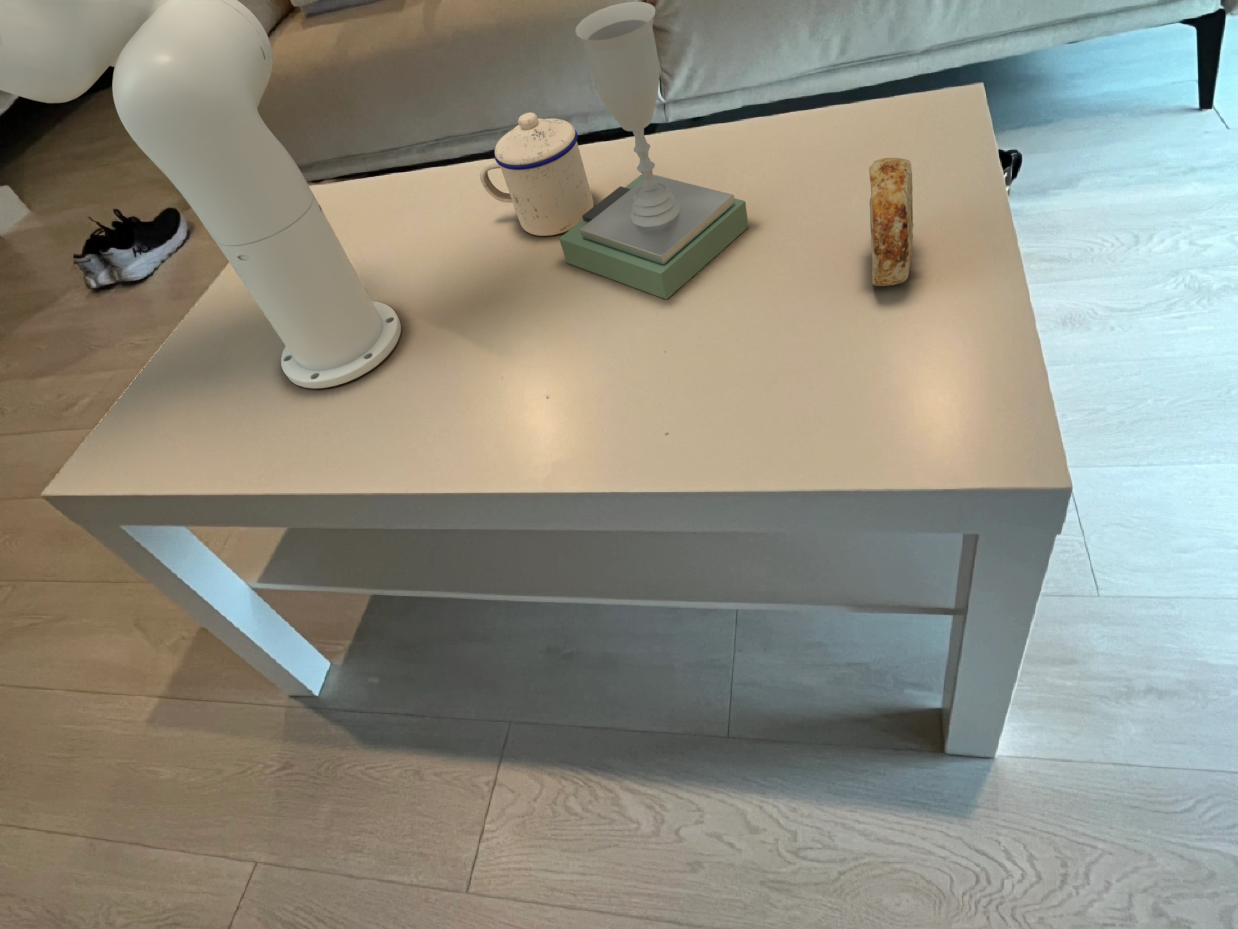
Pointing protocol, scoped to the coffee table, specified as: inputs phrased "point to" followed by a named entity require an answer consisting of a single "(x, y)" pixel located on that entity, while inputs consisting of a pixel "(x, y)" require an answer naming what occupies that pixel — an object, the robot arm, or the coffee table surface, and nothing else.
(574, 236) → the scale
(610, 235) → the pan
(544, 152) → the teacup with lid
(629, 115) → the chalice
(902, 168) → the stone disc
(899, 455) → the coffee table surface
